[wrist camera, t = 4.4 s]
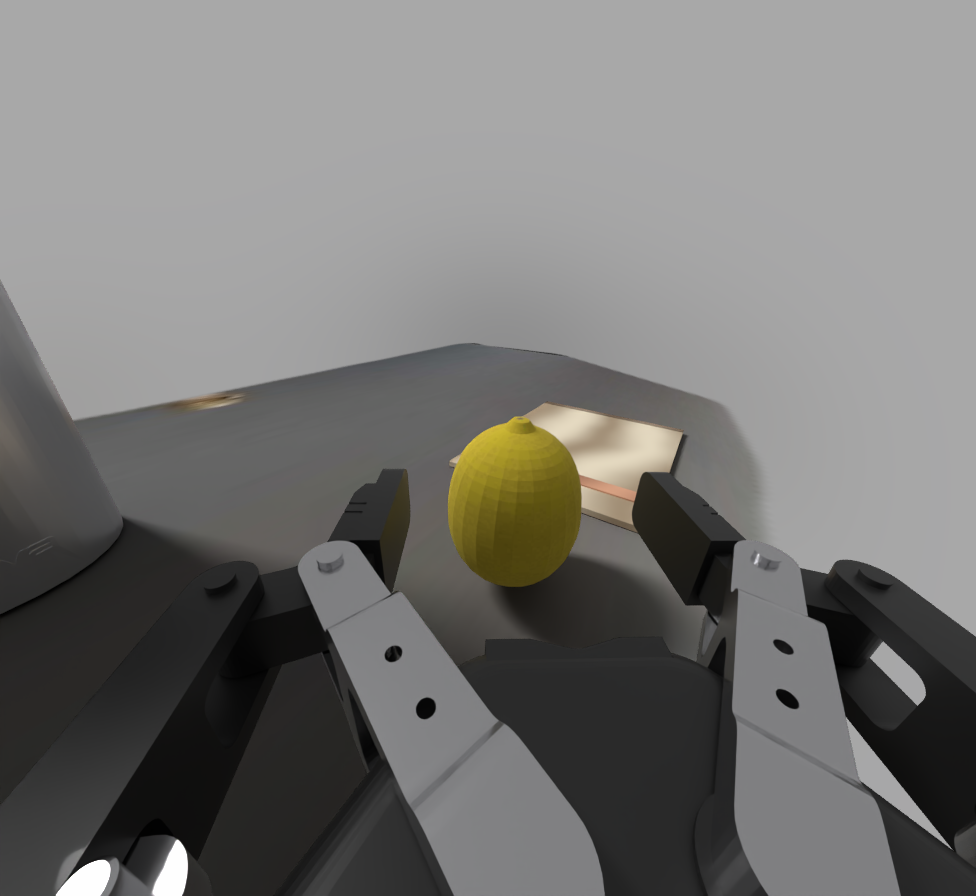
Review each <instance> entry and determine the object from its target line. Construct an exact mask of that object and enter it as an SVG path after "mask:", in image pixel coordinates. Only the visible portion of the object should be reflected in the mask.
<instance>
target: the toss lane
mask: <svg viewBox="0 0 976 896" xmlns="http://www.w3.org/2000/svg"><path fill="white" fill-rule="evenodd" d="M523 417H525V418H528V419H529V420H530V421H531V422H532V424H533V425H535V426H538V427H540V428H542V429H545V430H546V431H548V432H549V433H551V434H552V435H554V436H555V437H556V438H557V439H558V440H559V441H560V442H561V443H562V444H563V445H564V446H565V447H566V448H567V449H568V451H569V452H570V454H571V456H572V458H573V460H574V462H575V464H576V467H577V470H578V473H579V478H580V483H581V493H582V507H581V513H583V514H586V515H589V516H592V517H595V518H597V519H600V520H603V521H606V522H609V523H612V524H614V525H617V526H620V527H623V528H626V529H628V530H631V531H634V532H637V530H636V529H635V527H634V525H633V521H632V508H633V505H634V501H635V497H636V493H637V489H638V485H639V481H640V478H641V475H642V474H643V473H644V472H668V473H669V472H670V469H671V467H672V464H673V461H674V458H675V455H676V452H677V449H678V446H679V443H680V440H681V437H682V434H683V431H684V430H681V429H676V428H671V427H667V426H662V425H657V424H652V423H648V422H643V421H638V420H633V419H629V418H624V417H619V416H614V415H609V414H605V413H600V412H595V411H590V410H586V409H581V408H576V407H571V406H567V405H562V404H557V403H552V402H548V401H547V402H545V403H544V404H543V405H541V406H539V407H538V408H536V409H534V410H533V411H531V412H529V413H528V414H526V415H524V416H523ZM460 456H461V454H460V455H458V456H457V457H455V458H453V459H452V460H450V461H449V466H451V467H454V468H455V467H456V465H457V462H458V460H459V458H460ZM637 533H638V532H637Z"/></svg>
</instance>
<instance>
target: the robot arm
mask: <svg viewBox="0 0 976 896" xmlns="http://www.w3.org/2000/svg"><path fill="white" fill-rule="evenodd" d="M632 521H633V525H634V527H635V529H636V530H637V532H638V533H639V535H640V536H641V538H642V539H643V541H644V542H645V544H646V546H647V547H648V549H649V550H650V552H651V553H652V555H653V556H654V558H655V559H656V561H657V562H658V564H659V565H660V567H661V568H662V570H663V571H664V573H665V574H666V576H667V578H668V579H669V581H670V582H671V584H672V585H673V587H674V588H675V590H676V591H677V593H678V594H679V596H680V597H681V599H682V600H683V602H684V603H685V605H704V606H705V607H706V608H707V610H706V613H705V615H704V618H703V623H702V629H701V635H700V642H699V648H698V654H697V661H696V662H695V661H692V660H690V659H688V658H685V657H682V656H679V655H676V654H673V653H670V651H669V650H668V648H667V646H666V644H665V642H664V640H663V638H662V637H619V638H616V639H612V640H609V641H606V642H602V643H599V644H596V645H592V646H589V647H586V648H582V649H573V648H568V647H564V646H560V645H555V644H551V643H546V642H542V641H537V640H533V639H486V643H485V655H482V656H479V657H476V658H474V659H472V660H469V661H467V662H465V663H463V664H462V665H460V666H458V667H457V666H456V665H455V664H454V662H453V661H452V659H451V658H450V657H449V655H448V654H447V653H446V651H445V650H444V649H443V647H442V646H441V645H440V643H439V642H438V640H437V639H436V638H435V636H434V635H433V634H432V632H431V631H430V630H429V628H428V627H427V626H426V624H425V623H424V621H423V620H422V619H421V617H420V616H419V615H418V613H417V612H416V611H415V609H414V608H413V607H412V605H411V604H410V602H409V601H408V600H407V598H406V597H405V596H404V595H403V594H402V593H401V592H400V591H396V592H394V593H392V591H393V587H394V583H395V579H396V575H397V571H398V567H399V564H400V560H401V556H402V552H403V548H404V544H405V540H406V536H407V532H408V528H409V523H410V499H409V486H408V474H407V470H406V469H383V470H382V472H381V474H380V476H379V478H378V480H377V482H376V484H365V485H364V486H362V487H361V488H360V489H358V490H357V491H356V492H355V493H354V495H353V497H352V498H351V500H350V502H349V504H348V506H347V507H346V509H345V513H343V515H342V516H341V518H340V520H339V522H338V524H337V526H336V527H335V529H334V531H333V533H332V535H331V536H330V538H329V540H328V542H327V543H324V544H321V545H319V546H317V547H315V548H313V549H311V550H310V551H309V552H307V553H306V554H305V555H304V556H303V558H302V559H301V561H300V562H299V565H298V566H296V567H293V568H289V569H285V570H281V571H277V572H272V573H268V574H264V575H260V574H259V571H258V568H257V567H256V565H254V564H253V563H250V562H246V561H234V562H229V563H225V564H221V565H218V566H216V567H213V568H211V569H209V570H207V571H205V572H204V573H202V574H200V575H199V576H197V577H196V578H195V579H194V580H192V581H191V582H190V583H189V584H188V585H187V587H186V588H185V589H184V590H183V591H182V592H181V594H180V595H179V596H178V597H177V598H176V599H175V601H174V602H173V603H172V604H171V605H170V607H169V608H168V609H167V610H166V611H165V612H164V614H163V615H162V616H161V617H160V618H159V619H158V621H157V622H156V623H155V624H154V625H153V627H152V628H151V629H150V630H149V631H148V632H147V634H146V635H145V636H144V637H143V638H142V639H141V641H140V642H139V643H138V644H137V645H136V647H135V648H134V649H133V650H132V651H131V652H130V654H129V655H128V656H127V657H126V658H125V659H124V661H123V662H122V663H121V664H120V665H119V667H118V668H117V669H116V670H115V671H114V672H113V674H112V675H111V676H110V677H109V678H108V679H107V681H106V682H105V683H104V684H103V685H102V687H101V688H100V689H99V690H98V691H97V692H96V694H95V695H94V696H93V697H92V698H91V699H90V701H89V702H88V703H87V704H86V705H85V706H84V708H83V709H82V710H81V711H80V712H79V714H78V715H77V716H76V717H75V718H74V719H73V721H72V722H71V723H70V724H69V725H68V726H67V728H66V729H65V730H64V731H63V732H62V734H61V735H60V736H59V737H58V738H57V739H56V741H55V742H54V743H53V744H52V745H51V746H50V748H49V749H48V750H47V751H46V752H45V754H44V755H43V756H42V757H41V758H40V759H39V761H38V762H37V763H36V764H35V765H34V766H33V768H32V769H31V770H30V771H29V772H28V774H27V775H26V776H25V777H24V778H23V779H22V781H21V782H20V783H19V784H18V785H17V786H16V788H15V789H14V790H13V791H12V792H11V794H10V795H9V796H8V797H7V798H6V799H5V801H4V802H3V803H2V804H1V805H0V896H212V887H211V882H210V879H209V877H208V875H207V873H206V872H205V871H204V870H203V868H202V867H201V866H200V865H199V864H198V862H197V861H198V858H199V856H200V854H201V851H202V849H203V847H204V844H205V842H206V840H207V837H208V835H209V833H210V830H211V828H212V826H213V823H214V821H215V819H216V816H217V814H218V812H219V810H220V807H221V805H222V803H223V800H224V798H225V796H226V793H227V791H228V789H229V786H230V784H231V782H232V779H233V777H234V775H235V772H236V770H237V768H238V765H239V763H240V761H241V758H242V756H243V754H244V751H245V749H246V747H247V745H248V742H249V740H250V738H251V735H252V733H253V731H254V728H255V726H256V724H257V721H258V719H259V717H260V714H261V712H262V710H263V707H264V705H265V703H266V700H267V698H268V696H269V693H270V691H271V689H272V687H273V684H274V682H275V680H276V677H277V675H278V673H279V670H280V668H281V666H282V664H285V663H288V662H291V661H295V660H298V659H301V658H304V657H307V656H310V655H314V654H317V653H321V656H322V658H323V661H324V663H325V665H326V668H327V670H328V673H329V675H330V678H331V680H332V683H333V685H334V687H335V690H336V692H337V695H338V697H339V700H340V702H341V705H342V707H343V710H344V712H345V715H346V717H347V720H348V723H349V726H350V729H351V732H352V735H353V738H354V741H355V744H356V747H357V749H358V752H359V754H360V757H361V759H362V762H363V764H364V767H365V769H366V772H367V776H366V777H365V778H364V779H363V781H362V782H361V783H360V785H359V786H358V787H357V788H356V790H355V791H354V792H353V794H352V795H351V796H350V797H349V799H348V800H347V801H346V803H345V804H344V805H343V807H342V808H341V809H340V810H339V812H338V813H337V814H336V816H335V817H334V818H333V819H332V821H331V822H330V823H329V825H328V826H327V827H326V828H325V830H324V831H323V832H322V834H321V835H320V836H319V838H318V839H317V840H316V841H315V843H314V844H313V845H312V847H311V848H310V849H309V850H308V852H307V853H306V854H305V856H304V857H303V858H302V860H301V861H300V862H299V863H298V865H297V866H296V867H295V869H294V870H293V871H292V872H291V874H290V875H289V876H288V878H287V879H286V880H285V881H284V883H283V884H282V885H281V887H280V888H279V889H278V891H277V892H276V893H275V894H274V896H976V637H975V636H974V635H973V634H971V633H970V632H969V631H967V630H966V629H965V628H963V627H962V626H960V625H959V624H958V623H956V622H955V621H954V620H952V619H951V618H950V617H948V616H947V615H946V614H944V613H943V612H942V611H940V610H939V609H937V608H936V607H935V606H934V605H932V604H931V603H930V602H928V601H927V600H925V599H924V598H923V597H921V596H920V595H919V594H917V593H916V592H915V591H913V590H912V589H910V588H909V587H908V586H907V585H905V584H904V583H903V582H901V581H900V580H898V579H897V578H895V577H894V576H892V575H890V574H889V573H886V572H885V571H883V570H881V569H878V568H876V567H873V566H871V565H868V564H865V563H861V562H858V561H853V560H839V561H837V562H835V564H834V565H833V567H832V569H831V570H830V572H829V574H825V573H821V572H816V571H811V570H806V569H802V568H800V567H799V566H798V564H797V563H796V562H795V561H794V560H793V559H792V558H791V557H790V556H789V555H787V554H786V553H784V552H783V551H781V550H779V549H777V548H775V547H773V546H771V545H768V544H765V543H762V542H758V541H752V540H746V539H745V538H744V537H743V536H742V535H740V534H739V533H738V532H737V531H736V530H735V529H734V528H733V527H732V526H731V525H730V524H729V523H728V522H727V521H726V520H725V519H724V518H723V517H722V516H720V515H718V513H717V512H716V511H715V510H714V509H713V508H712V507H709V504H708V503H707V502H706V501H705V500H704V499H703V498H702V497H700V496H699V495H698V494H696V493H695V492H693V491H691V490H689V489H688V488H686V487H684V486H682V485H681V484H680V483H679V482H678V481H677V480H676V479H675V478H674V477H673V476H672V475H671V474H670V473H668V472H644V473H643V474H642V475H641V478H640V481H639V485H638V489H637V493H636V497H635V501H634V505H633V508H632ZM122 528H123V520H122V516H121V514H120V512H119V510H118V509H117V507H116V505H115V503H114V501H113V499H112V497H111V495H110V493H109V491H108V489H107V487H106V485H105V483H104V481H103V479H102V477H101V475H100V473H99V471H98V469H97V468H96V466H95V464H94V462H93V460H92V458H91V455H90V453H89V451H88V449H87V447H86V445H85V443H84V441H83V439H82V437H81V435H80V433H79V432H78V430H77V428H76V426H75V424H74V422H73V420H72V418H71V416H70V414H69V412H68V410H67V408H66V406H65V405H64V403H63V401H62V399H61V397H60V395H59V393H58V391H57V389H56V387H55V385H54V383H53V381H52V379H51V377H50V375H49V373H48V372H47V370H46V368H45V366H44V364H43V362H42V360H41V358H40V356H39V354H38V352H37V350H36V348H35V346H34V345H33V342H32V341H31V339H30V337H29V335H28V333H27V331H26V329H25V327H24V325H23V323H22V321H21V319H20V317H19V315H18V313H17V311H16V309H15V308H14V306H13V304H12V302H11V300H10V298H9V296H8V294H7V292H6V290H5V288H4V286H3V284H2V282H1V280H0V614H1V613H4V612H6V611H8V610H10V609H12V608H14V607H16V606H18V605H20V604H22V603H24V602H27V601H29V600H31V599H33V598H35V597H37V596H39V595H41V594H43V593H44V592H46V591H48V590H50V589H51V588H53V587H55V586H57V585H58V584H60V583H62V582H64V581H65V580H67V579H69V578H70V577H72V576H73V575H75V574H76V573H78V572H79V571H81V570H82V569H84V568H85V567H87V566H88V565H89V564H91V563H92V562H94V561H95V560H96V559H97V558H98V557H99V556H101V555H102V554H103V553H104V552H105V551H106V550H108V549H109V548H110V546H111V545H112V544H113V543H114V542H115V540H116V539H117V538H118V537H119V535H120V533H121V530H122ZM883 641H884V642H885V643H886V644H887V645H888V646H889V647H890V648H891V649H892V650H893V651H894V652H895V653H896V654H897V655H899V656H900V657H901V658H902V659H903V660H904V661H905V662H906V663H907V664H908V665H909V666H910V667H912V668H913V669H914V670H915V671H916V673H917V674H918V675H919V676H920V678H921V679H922V681H923V683H924V685H925V689H926V696H925V699H924V700H923V701H922V702H921V703H920V704H919V705H918V706H917V705H916V704H915V703H914V702H913V701H912V700H911V699H910V698H909V697H908V696H907V695H906V694H905V693H904V692H903V691H902V690H901V689H900V688H899V687H898V686H897V685H896V684H895V683H894V682H893V681H892V680H891V679H890V678H889V677H888V676H887V675H886V674H885V673H884V672H883V671H882V670H881V669H880V668H879V667H878V666H877V665H876V664H875V663H874V662H873V661H872V660H871V659H870V657H871V655H872V654H873V653H874V652H875V650H876V649H877V648H878V647H879V646H880V644H881V643H882V642H883ZM845 716H846V717H847V719H848V720H849V721H850V722H851V723H852V725H853V726H854V727H855V729H856V730H857V731H858V732H859V734H860V735H861V736H862V737H863V739H864V740H865V741H866V742H867V743H868V745H869V746H870V747H871V749H872V750H873V751H874V752H875V754H876V755H877V756H878V757H879V758H880V760H881V761H882V762H883V764H884V765H885V766H886V767H887V768H888V770H889V771H890V772H891V773H892V775H893V776H894V777H895V778H896V780H897V781H898V782H899V783H900V785H901V786H902V787H903V788H904V790H905V791H906V792H907V793H908V795H909V796H910V797H911V798H912V800H913V801H914V802H915V803H916V805H917V806H918V807H919V808H920V810H921V811H922V812H923V813H924V815H925V816H926V817H927V818H928V820H929V821H930V822H931V823H932V825H933V826H934V827H935V828H936V830H938V832H939V833H940V834H941V836H942V837H943V838H944V839H945V841H946V842H947V843H948V844H949V846H950V847H951V848H952V849H953V850H952V849H950V848H949V847H948V846H946V845H945V844H944V843H942V842H941V841H940V840H938V839H937V838H935V837H934V836H933V835H931V834H930V833H929V832H928V831H926V830H925V829H924V828H922V827H921V826H920V825H918V824H917V823H916V822H914V821H913V820H912V819H910V818H909V817H908V816H906V815H905V814H904V813H902V812H901V811H900V810H898V809H897V808H896V807H894V806H893V805H892V804H890V803H889V802H888V801H886V800H885V799H884V798H882V797H881V796H880V795H878V794H877V793H875V792H874V791H873V790H872V789H870V788H869V787H868V786H866V785H865V784H864V783H862V782H861V781H860V780H859V777H858V773H857V769H856V765H855V759H854V755H853V750H852V746H851V741H850V736H849V731H848V726H847V722H846V717H845Z"/></svg>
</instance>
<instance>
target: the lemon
mask: <svg viewBox="0 0 976 896" xmlns="http://www.w3.org/2000/svg"><path fill="white" fill-rule="evenodd" d="M581 507H582V493H581V483H580V478H579V473H578V470H577V467H576V464H575V462H574V460H573V458H572V456H571V454H570V452H569V451H568V449H567V448H566V447H565V446H564V445H563V444H562V443H561V442H560V441H559V440H558V439H557V438H556V437H555V436H554V435H552V434H551V433H549V432H548V431H546V430H545V429H542V428H540V427H538V426H535V425H533V424H532V422H531V421H530V420H529V419H528V418H525V417H514V418H512V419H511V420H510V421H509V422H508V423H505V424H501V425H497V426H494V427H492V428H490V429H488V430H486V431H484V432H482V433H481V434H480V435H478V436H477V437H476V438H475V439H474V440H472V441H471V442H470V443H469V444H468V445H467V447H466V448H465V449H464V451H463V452H462V454H461V456H460V458H459V460H458V462H457V465H456V467H455V470H454V473H453V476H452V480H451V484H450V489H449V497H448V521H449V528H450V532H451V536H452V539H453V542H454V544H455V546H456V549H457V551H458V553H459V555H460V557H461V558H462V559H463V561H464V562H465V563H466V564H467V565H468V566H469V568H470V569H471V570H472V571H473V572H475V573H476V574H477V575H479V576H480V577H482V578H483V579H484V580H486V581H489V582H491V583H494V584H496V585H501V586H507V587H523V586H527V585H532V584H535V583H537V582H539V581H541V580H543V579H545V578H547V577H549V576H550V575H551V574H552V573H553V572H554V571H556V570H557V569H558V568H559V567H560V566H561V565H562V564H563V562H564V561H565V560H566V558H567V556H568V554H569V553H570V551H571V549H572V547H573V545H574V543H575V540H576V538H577V535H578V531H579V527H580V520H581Z"/></svg>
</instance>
